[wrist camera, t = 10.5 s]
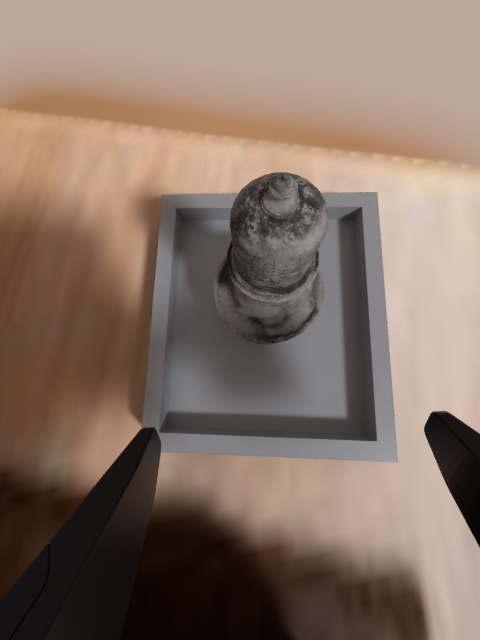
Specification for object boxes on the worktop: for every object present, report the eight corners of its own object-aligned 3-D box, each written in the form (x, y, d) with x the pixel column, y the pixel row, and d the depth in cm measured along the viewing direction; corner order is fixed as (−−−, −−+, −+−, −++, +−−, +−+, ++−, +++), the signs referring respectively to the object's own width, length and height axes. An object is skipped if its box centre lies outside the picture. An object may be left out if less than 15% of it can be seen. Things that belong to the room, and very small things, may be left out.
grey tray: (376, 449, 17) (398, 462, 14) (155, 440, 18) (139, 450, 15) (361, 214, 20) (377, 192, 17) (173, 215, 21) (162, 194, 18)
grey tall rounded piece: (316, 344, 17) (448, 286, 5) (224, 352, 17) (160, 313, 6) (304, 258, 18) (392, 54, 7) (218, 267, 19) (154, 84, 7)
